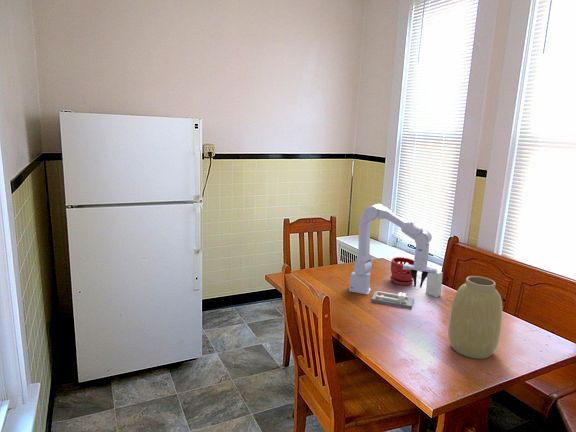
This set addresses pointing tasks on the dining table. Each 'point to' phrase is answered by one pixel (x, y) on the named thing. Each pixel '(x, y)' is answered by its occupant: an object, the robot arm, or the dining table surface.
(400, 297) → the fader tab
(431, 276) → the skincare box
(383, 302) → the board
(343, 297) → the dining table surface
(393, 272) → the plant pot
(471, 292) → the vase
